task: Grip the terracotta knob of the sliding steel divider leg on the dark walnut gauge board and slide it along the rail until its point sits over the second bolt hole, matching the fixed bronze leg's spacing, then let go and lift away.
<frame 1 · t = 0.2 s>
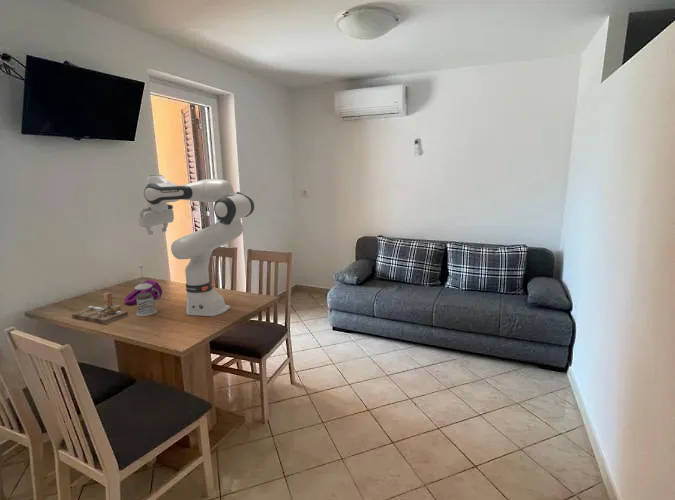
hand: (157, 232, 199), 39 cm above the table, tool pointing down, fingers open, 8 cm apart
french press: (148, 312, 195), on the table
gauge board: (100, 316, 189), on the table
sliding divider leg: (104, 303, 187), point 7 cm above the table, slide at 0.0 cm
purple curved piece: (142, 300, 213), on the table
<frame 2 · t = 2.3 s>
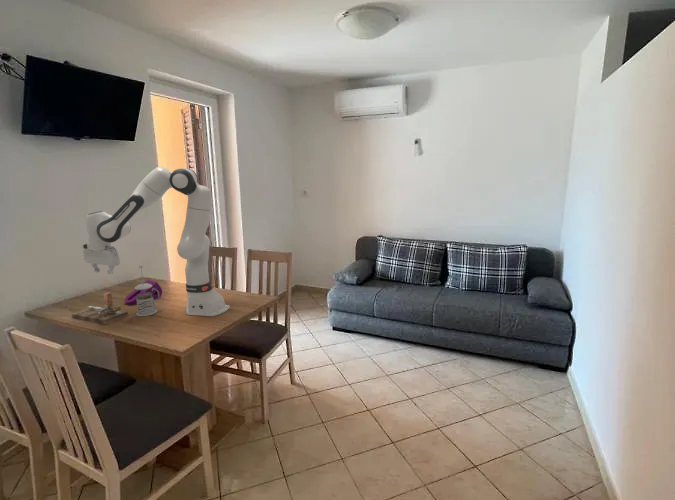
hand: (103, 273, 186), 22 cm above the table, tool pointing down, fingers open, 8 cm apart
nothing on the table moved.
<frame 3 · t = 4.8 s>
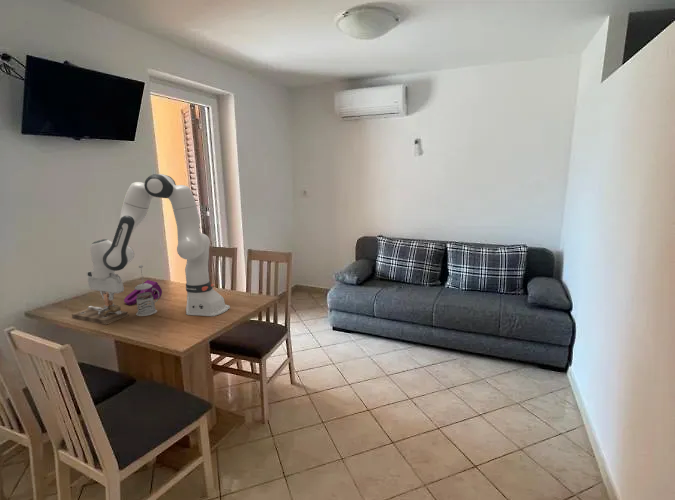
hand: (108, 299, 188), 9 cm above the table, tool pointing down, fingers closed on sliding divider leg, 2 cm apart
sliding divider leg: (104, 303, 187), point 7 cm above the table, slide at 0.0 cm, touching gripper
everything else where it was.
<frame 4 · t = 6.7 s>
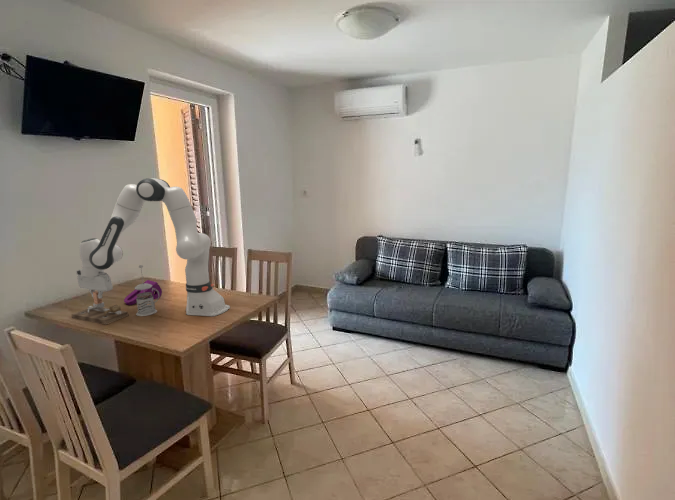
hand: (97, 297, 191), 9 cm above the table, tool pointing down, fingers closed on sliding divider leg, 2 cm apart
sliding divider leg: (94, 301, 190), point 7 cm above the table, slide at 7.6 cm, touching gripper
everything else where it was.
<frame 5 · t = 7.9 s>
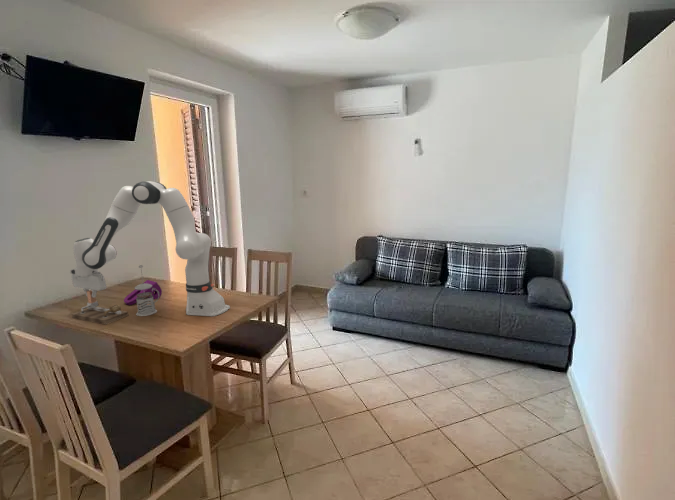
hand: (91, 296, 193), 9 cm above the table, tool pointing down, fingers closed on sliding divider leg, 2 cm apart
sliding divider leg: (88, 300, 191), point 7 cm above the table, slide at 12.0 cm, touching gripper
everything else where it was.
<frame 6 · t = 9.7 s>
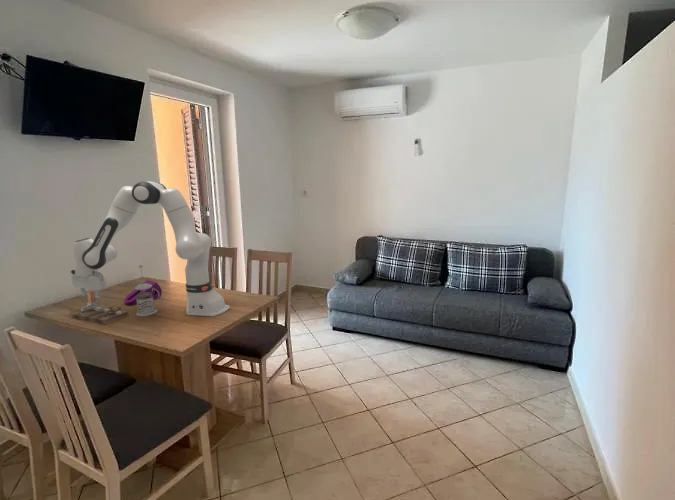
hand: (91, 296, 193), 9 cm above the table, tool pointing down, fingers open, 8 cm apart
sliding divider leg: (88, 300, 191), point 7 cm above the table, slide at 12.1 cm
everything else where it was.
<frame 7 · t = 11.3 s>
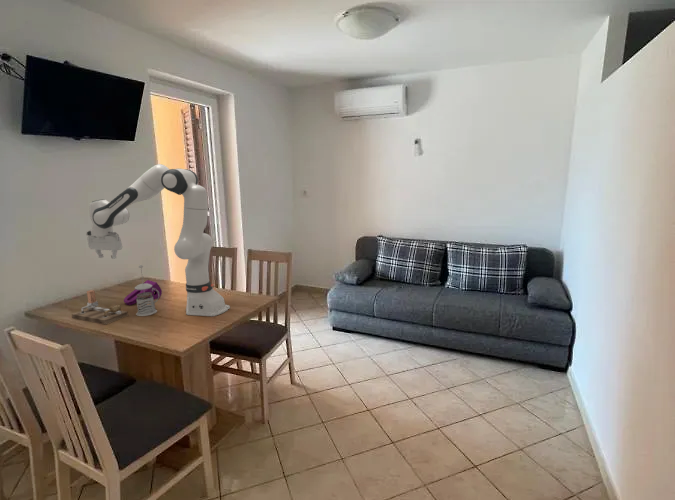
hand: (107, 258, 197), 27 cm above the table, tool pointing down, fingers open, 8 cm apart
nothing on the table moved.
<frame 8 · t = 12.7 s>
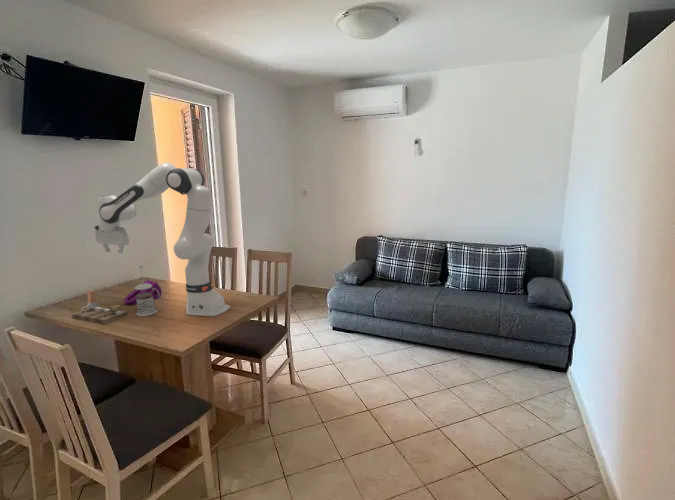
hand: (114, 252, 200), 29 cm above the table, tool pointing down, fingers open, 8 cm apart
nothing on the table moved.
at the end: sliding divider leg slide at 12.1 cm; the gripper is holding nothing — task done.
